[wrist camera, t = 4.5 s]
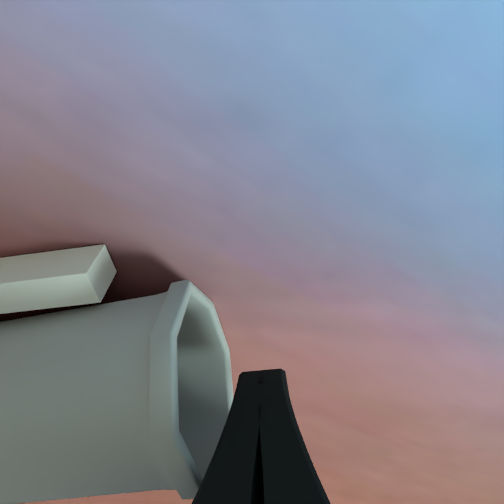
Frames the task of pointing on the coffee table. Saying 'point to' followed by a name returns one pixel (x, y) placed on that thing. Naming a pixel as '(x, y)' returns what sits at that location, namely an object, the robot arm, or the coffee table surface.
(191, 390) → the tube
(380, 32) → the coffee table surface
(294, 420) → the robot arm
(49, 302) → the rails
